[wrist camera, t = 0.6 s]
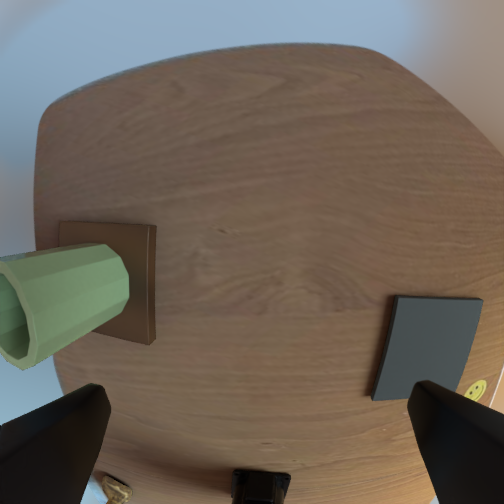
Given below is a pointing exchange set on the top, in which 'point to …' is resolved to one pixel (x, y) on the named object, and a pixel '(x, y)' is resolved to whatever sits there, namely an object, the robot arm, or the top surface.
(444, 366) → the mat
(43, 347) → the green faceted tube
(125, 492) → the sculpture
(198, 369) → the top surface
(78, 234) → the stand
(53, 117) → the top surface
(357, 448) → the top surface
